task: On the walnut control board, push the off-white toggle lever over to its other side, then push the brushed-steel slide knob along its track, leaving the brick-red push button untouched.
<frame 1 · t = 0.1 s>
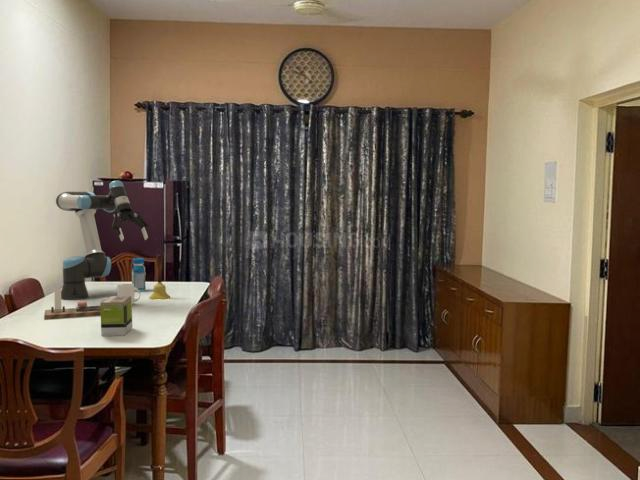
hand: (134, 239, 317), 36 cm above the table, tool tilted 35°, fingers open, 13 cm apart
toggle lever: (57, 298, 294), point 8 cm above the table, hinge at -25.0°
slide knob: (116, 303, 303), point 5 cm above the table, slide at 0.0 cm
push button: (82, 304, 296), point 5 cm above the table, slide at 0.0 cm
handbell: (159, 298, 346), on the table
beverage bottle: (138, 290, 371), on the table
mug: (129, 304, 324), on the table
control board: (84, 314, 297), on the table
tea box: (117, 332, 259), on the table
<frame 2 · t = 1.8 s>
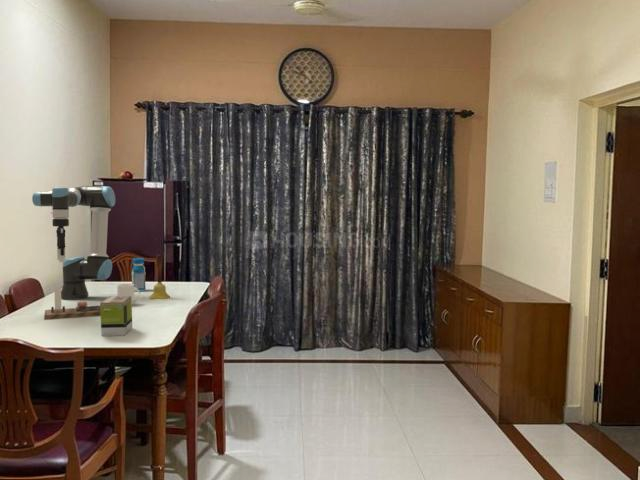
hand: (61, 260, 299), 26 cm above the table, tool pointing down, fingers open, 13 cm apart
nothing on the table moved.
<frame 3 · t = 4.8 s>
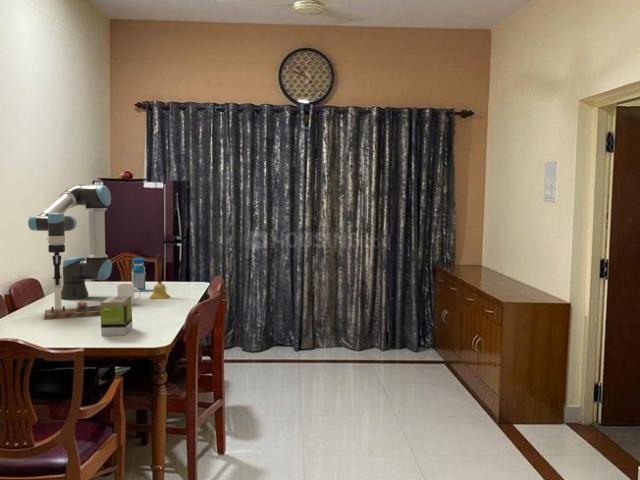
hand: (57, 291, 297), 11 cm above the table, tool pointing down, fingers closed
toggle lever: (57, 298, 294), point 8 cm above the table, hinge at -24.0°, touching gripper
everything else where it was.
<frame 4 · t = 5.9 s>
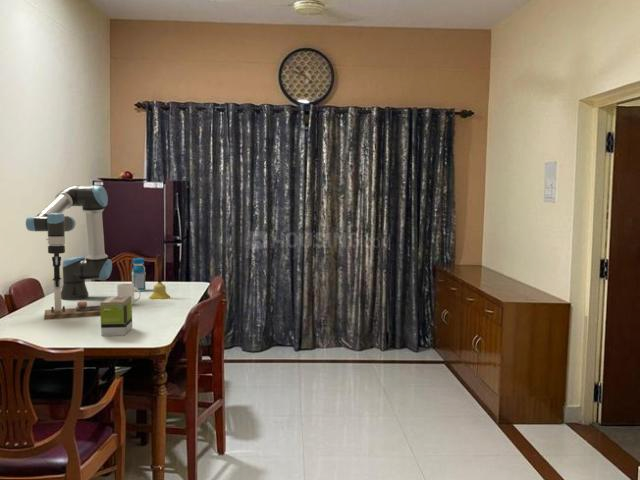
hand: (57, 293, 291), 11 cm above the table, tool pointing down, fingers closed
toggle lever: (57, 299, 291), point 8 cm above the table, hinge at 11.4°, touching gripper
everything else where it was.
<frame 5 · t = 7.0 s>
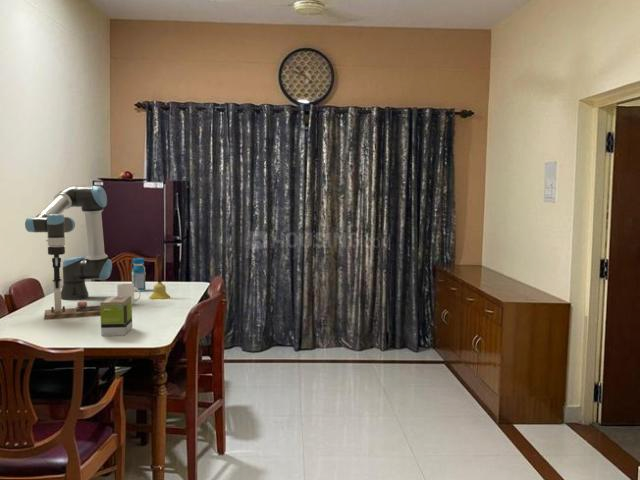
hand: (57, 294, 290), 11 cm above the table, tool pointing down, fingers closed
toggle lever: (57, 300, 290), point 8 cm above the table, hinge at 23.8°, touching gripper
everything else where it was.
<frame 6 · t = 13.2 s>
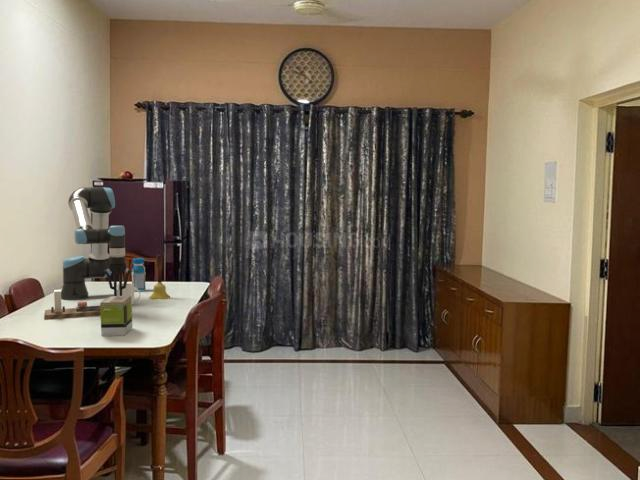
hand: (118, 302, 303), 5 cm above the table, tool pointing down, fingers closed
toggle lever: (57, 300, 290), point 8 cm above the table, hinge at 23.8°
slide knob: (114, 303, 302), point 5 cm above the table, slide at 1.0 cm, touching gripper
everything else where it was.
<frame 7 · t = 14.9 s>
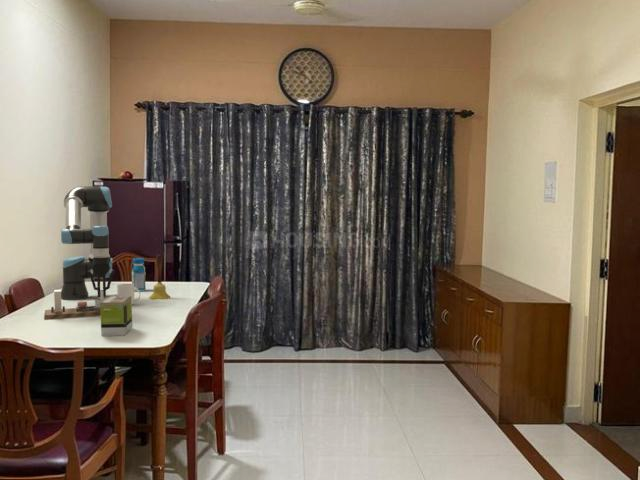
hand: (101, 303, 300), 5 cm above the table, tool pointing down, fingers closed
slide knob: (97, 304, 299), point 5 cm above the table, slide at 8.7 cm, touching gripper
everything else where it was.
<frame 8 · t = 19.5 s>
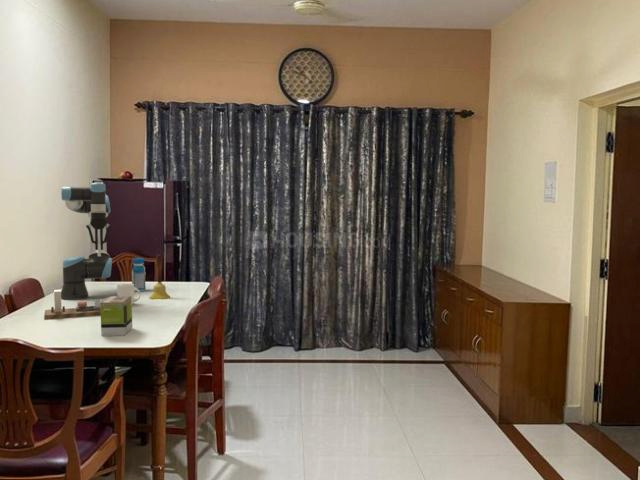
hand: (99, 256, 321), 26 cm above the table, tool pointing down, fingers closed
slide knob: (97, 304, 299), point 5 cm above the table, slide at 8.9 cm
everything else where it was.
at the end: toggle lever at +24° (first picture: -25°); slide knob slide at 8.9 cm; push button slide at 0.0 cm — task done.
